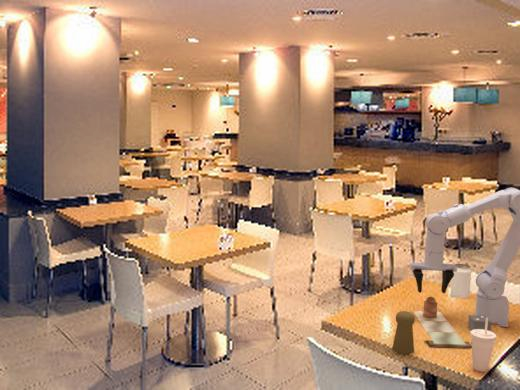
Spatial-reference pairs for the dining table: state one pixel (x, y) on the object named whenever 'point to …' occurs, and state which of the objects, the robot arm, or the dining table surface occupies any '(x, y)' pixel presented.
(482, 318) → the die
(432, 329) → the game board
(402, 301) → the dining table surface
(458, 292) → the can
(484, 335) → the smoothie
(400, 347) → the olive brown pawn
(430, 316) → the pawn
